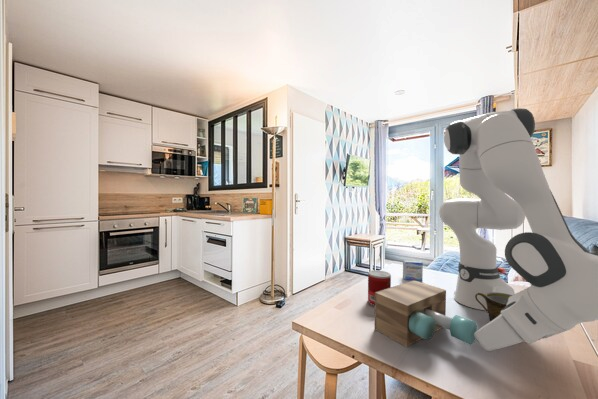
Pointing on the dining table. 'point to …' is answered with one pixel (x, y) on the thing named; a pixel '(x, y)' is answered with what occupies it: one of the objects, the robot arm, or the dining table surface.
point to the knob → (455, 326)
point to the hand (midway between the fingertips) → (479, 336)
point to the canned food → (377, 283)
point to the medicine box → (412, 270)
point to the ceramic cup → (494, 303)
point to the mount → (408, 311)
